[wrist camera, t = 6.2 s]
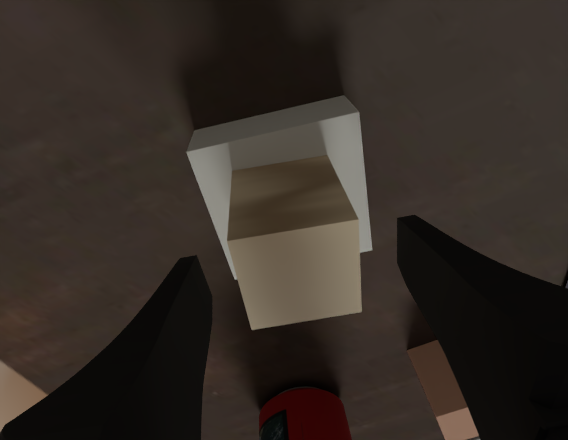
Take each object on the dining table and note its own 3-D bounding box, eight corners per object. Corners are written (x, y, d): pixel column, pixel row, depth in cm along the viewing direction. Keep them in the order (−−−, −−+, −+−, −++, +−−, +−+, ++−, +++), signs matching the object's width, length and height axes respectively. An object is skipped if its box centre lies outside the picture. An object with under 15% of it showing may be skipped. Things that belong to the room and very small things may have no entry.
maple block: (327, 155, 15) (358, 219, 11) (333, 233, 17) (361, 312, 13) (232, 170, 15) (226, 241, 11) (250, 247, 17) (251, 330, 13)
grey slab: (342, 93, 17) (359, 111, 14) (356, 217, 21) (372, 250, 18) (195, 127, 17) (186, 152, 15) (236, 244, 21) (234, 279, 18)
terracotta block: (460, 331, 26) (500, 397, 22) (468, 361, 28) (506, 427, 24) (406, 349, 27) (436, 417, 23) (418, 378, 29) (447, 445, 25)
